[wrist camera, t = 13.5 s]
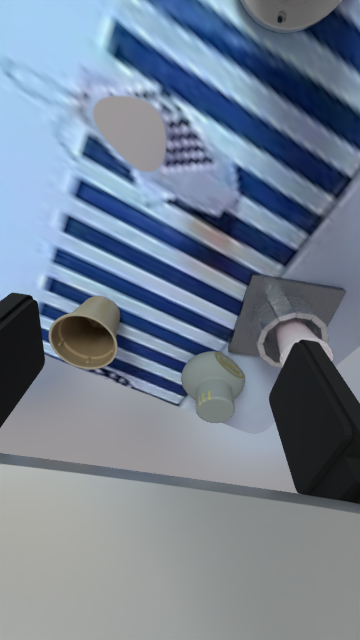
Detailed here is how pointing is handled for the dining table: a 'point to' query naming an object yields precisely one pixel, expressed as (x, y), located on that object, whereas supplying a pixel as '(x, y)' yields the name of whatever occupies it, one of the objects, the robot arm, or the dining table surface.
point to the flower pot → (87, 334)
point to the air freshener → (213, 385)
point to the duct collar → (280, 313)
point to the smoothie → (295, 337)
